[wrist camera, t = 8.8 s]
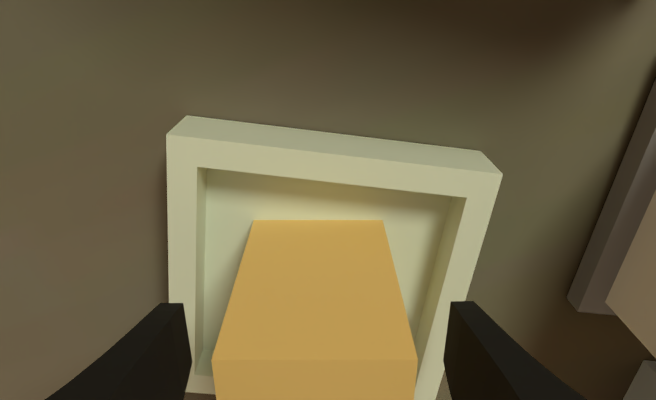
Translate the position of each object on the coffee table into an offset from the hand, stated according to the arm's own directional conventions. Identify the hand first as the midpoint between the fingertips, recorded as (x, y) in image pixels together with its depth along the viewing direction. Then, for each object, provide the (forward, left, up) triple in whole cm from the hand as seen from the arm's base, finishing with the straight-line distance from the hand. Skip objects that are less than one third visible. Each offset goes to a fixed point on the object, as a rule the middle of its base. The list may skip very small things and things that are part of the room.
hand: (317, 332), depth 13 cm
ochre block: (0, 0, -3) cm, 3 cm away
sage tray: (0, 0, -4) cm, 4 cm away
